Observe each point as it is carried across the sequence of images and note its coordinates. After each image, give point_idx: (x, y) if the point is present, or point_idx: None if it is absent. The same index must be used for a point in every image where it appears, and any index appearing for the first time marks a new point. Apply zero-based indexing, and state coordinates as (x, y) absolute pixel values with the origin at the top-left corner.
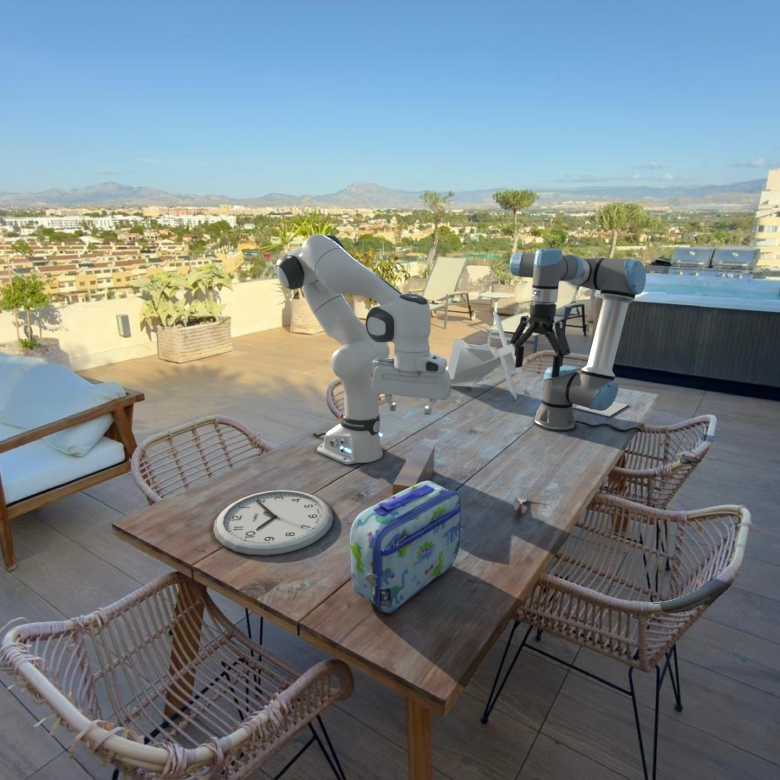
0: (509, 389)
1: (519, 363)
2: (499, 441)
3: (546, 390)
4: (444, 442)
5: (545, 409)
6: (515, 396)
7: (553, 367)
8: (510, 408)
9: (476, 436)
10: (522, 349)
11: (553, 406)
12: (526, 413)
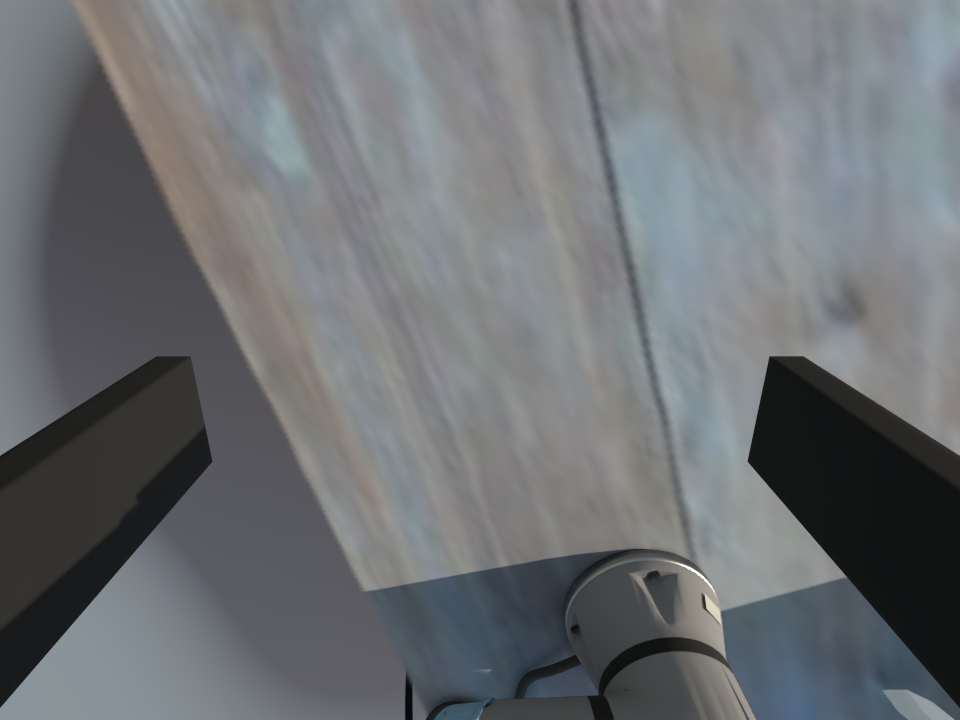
0: (942, 711)
1: (790, 429)
2: (694, 317)
3: (720, 706)
4: (884, 89)
5: (676, 620)
6: (895, 699)
7: (79, 419)
8: (854, 613)
9: (802, 277)
10: (951, 639)
11: (648, 645)
12: (775, 616)
